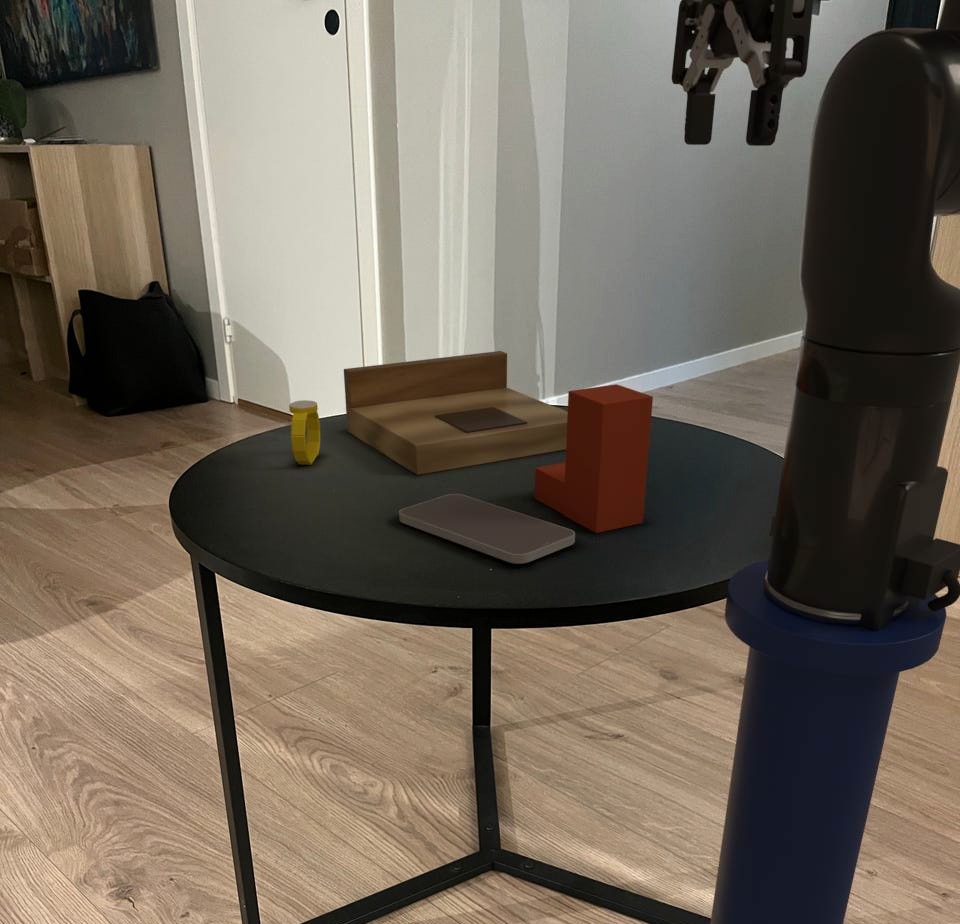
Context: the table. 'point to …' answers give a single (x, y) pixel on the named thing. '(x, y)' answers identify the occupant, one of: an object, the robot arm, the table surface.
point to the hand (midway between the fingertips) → (727, 145)
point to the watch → (304, 417)
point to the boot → (601, 459)
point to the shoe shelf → (449, 413)
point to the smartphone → (488, 528)
